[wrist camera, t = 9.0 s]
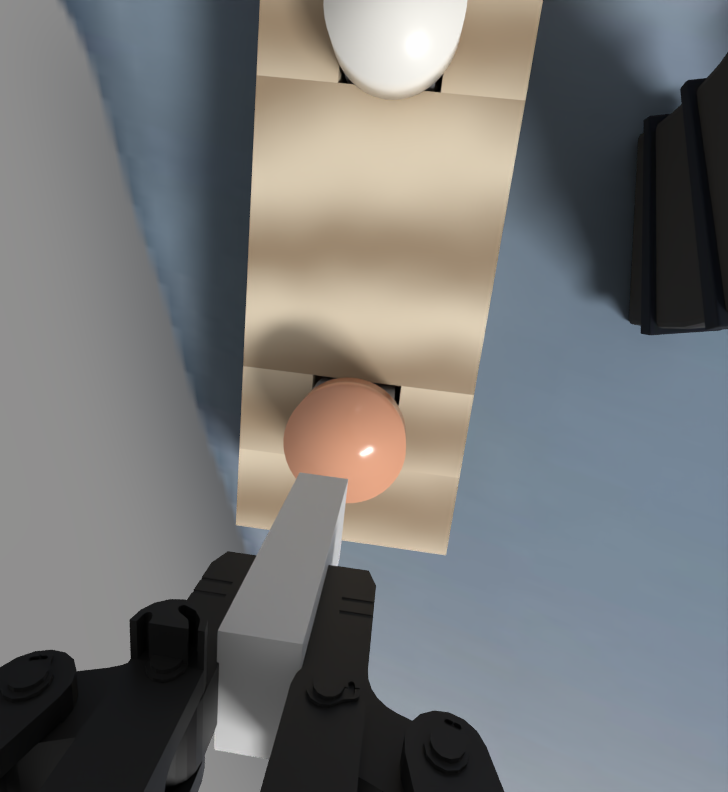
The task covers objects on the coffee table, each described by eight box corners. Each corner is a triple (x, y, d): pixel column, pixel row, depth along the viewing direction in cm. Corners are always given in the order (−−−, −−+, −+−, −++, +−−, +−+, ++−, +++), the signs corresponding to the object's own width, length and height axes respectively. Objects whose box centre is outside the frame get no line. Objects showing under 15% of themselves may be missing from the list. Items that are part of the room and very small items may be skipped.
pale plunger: (351, 12, 25) (330, -93, 18) (457, 21, 25) (479, -82, 18) (341, 129, 27) (317, 75, 19) (441, 139, 26) (455, 88, 19)
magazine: (630, 381, 29) (849, 268, 14) (600, 186, 31) (759, -80, 17) (696, 377, 28) (993, 257, 14) (660, 180, 31) (877, -98, 16)
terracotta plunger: (317, 352, 28) (287, 379, 21) (411, 363, 28) (414, 395, 21) (309, 440, 30) (279, 494, 22) (399, 452, 29) (397, 511, 22)
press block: (304, -68, 26) (268, -188, 19) (527, -50, 25) (572, -169, 18) (269, 475, 34) (236, 524, 27) (437, 498, 33) (445, 555, 27)
